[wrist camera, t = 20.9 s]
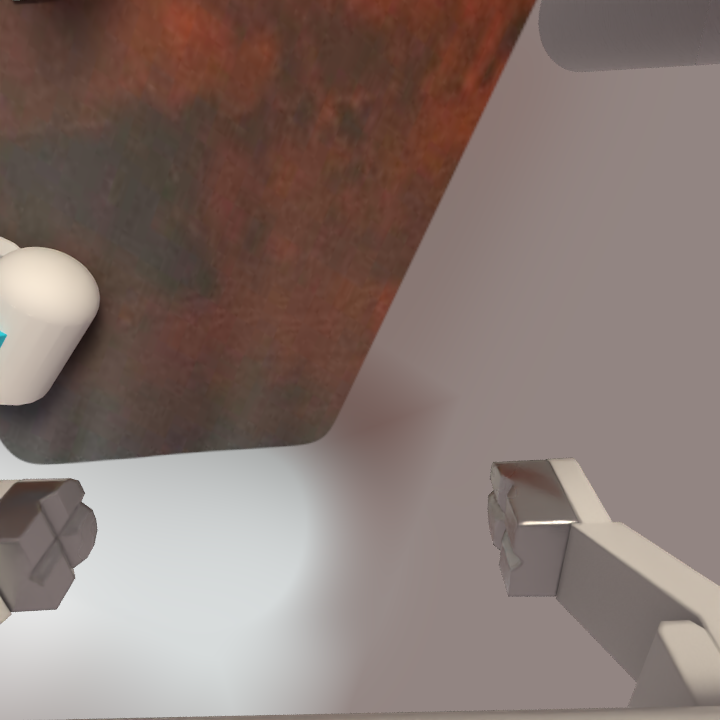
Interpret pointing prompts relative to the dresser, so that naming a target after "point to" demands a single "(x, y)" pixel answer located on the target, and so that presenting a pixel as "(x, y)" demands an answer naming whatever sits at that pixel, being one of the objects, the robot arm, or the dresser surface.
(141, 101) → the dresser surface
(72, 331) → the mug
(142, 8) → the dresser surface
